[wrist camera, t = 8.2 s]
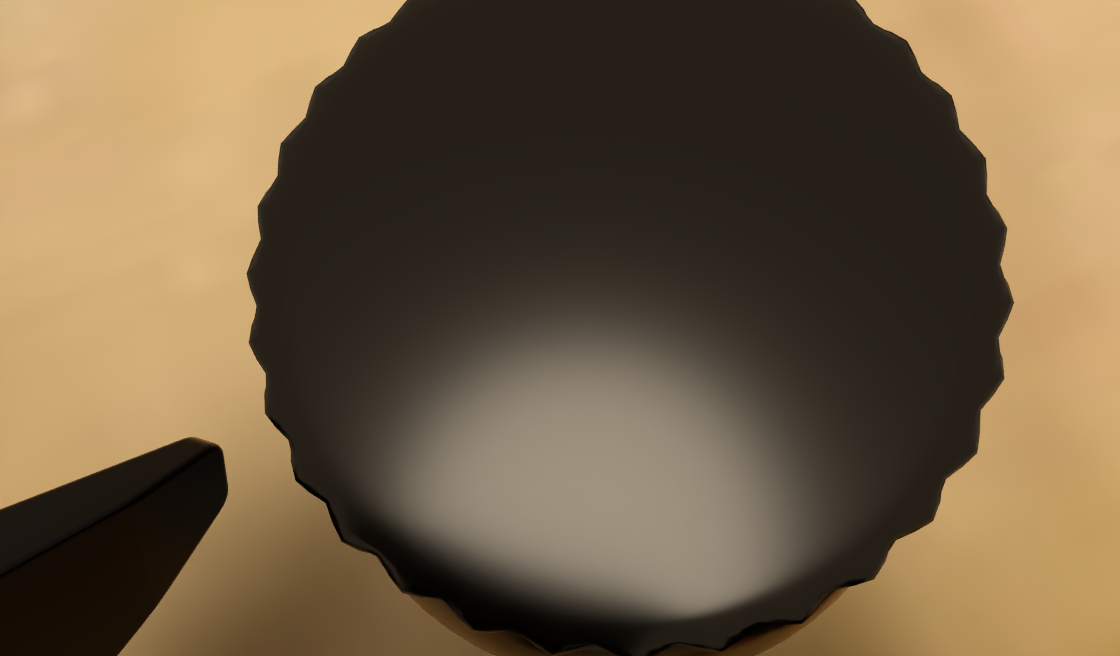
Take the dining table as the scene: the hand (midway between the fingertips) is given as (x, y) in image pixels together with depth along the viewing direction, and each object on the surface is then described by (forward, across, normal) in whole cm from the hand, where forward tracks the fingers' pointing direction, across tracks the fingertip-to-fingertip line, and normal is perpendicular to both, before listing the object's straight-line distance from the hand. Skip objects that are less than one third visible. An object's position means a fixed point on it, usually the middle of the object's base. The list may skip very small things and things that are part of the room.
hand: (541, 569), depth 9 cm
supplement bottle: (+7, 0, +3) cm, 8 cm away
